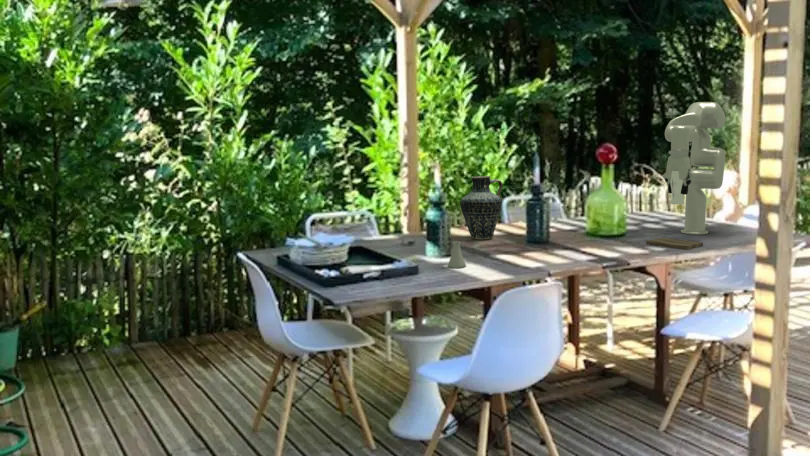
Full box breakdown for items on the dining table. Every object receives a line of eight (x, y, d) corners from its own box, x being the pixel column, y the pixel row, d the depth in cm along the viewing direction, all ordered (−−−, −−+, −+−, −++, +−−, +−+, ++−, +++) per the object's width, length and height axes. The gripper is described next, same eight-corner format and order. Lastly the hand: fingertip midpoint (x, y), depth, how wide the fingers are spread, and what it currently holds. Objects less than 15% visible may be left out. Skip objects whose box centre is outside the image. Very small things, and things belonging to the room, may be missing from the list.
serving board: (663, 240, 383) (663, 237, 383) (702, 245, 368) (703, 242, 368) (646, 244, 374) (646, 240, 373) (686, 249, 359) (686, 246, 359)
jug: (472, 243, 381) (472, 178, 376) (453, 237, 398) (453, 175, 394) (511, 239, 389) (511, 176, 385) (490, 234, 407) (490, 173, 402)
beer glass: (686, 204, 366) (687, 171, 364) (670, 204, 367) (671, 170, 365) (684, 203, 372) (685, 170, 370) (668, 202, 374) (669, 169, 372)
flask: (453, 264, 331) (453, 239, 330) (469, 266, 327) (469, 241, 326) (444, 267, 325) (444, 242, 324) (459, 269, 321) (459, 244, 320)
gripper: (657, 153, 371) (656, 193, 373) (692, 154, 358) (690, 195, 360) (666, 152, 376) (665, 192, 378) (701, 154, 363) (699, 194, 365)
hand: (677, 193), depth 369 cm, fingers closed on beer glass, 6 cm apart
